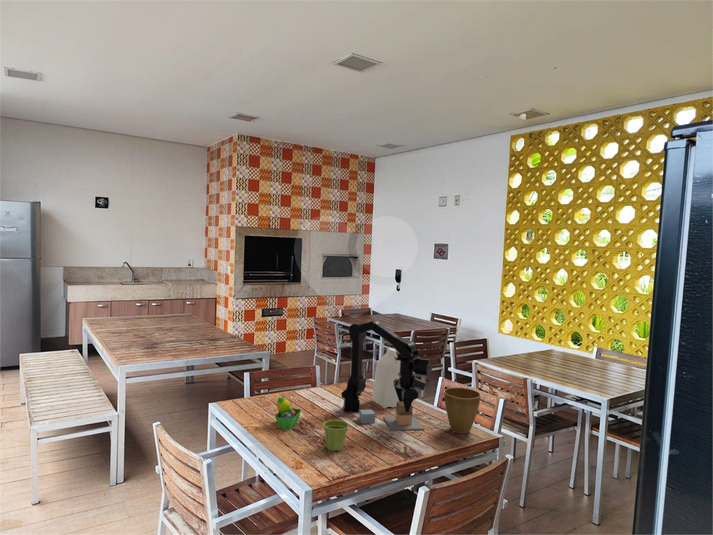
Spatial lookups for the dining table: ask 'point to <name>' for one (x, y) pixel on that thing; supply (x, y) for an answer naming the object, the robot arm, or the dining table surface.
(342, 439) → the plant pot
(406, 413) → the walnut block
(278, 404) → the fruit basket
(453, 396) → the plant pot
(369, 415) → the slate block
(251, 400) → the dining table surface
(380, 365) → the milk
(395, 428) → the tower base
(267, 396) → the dining table surface
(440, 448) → the dining table surface
